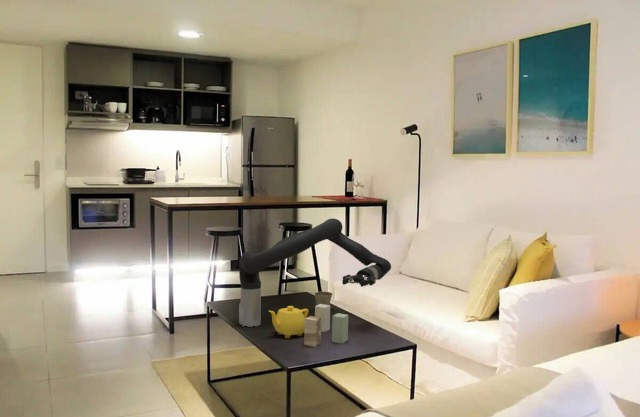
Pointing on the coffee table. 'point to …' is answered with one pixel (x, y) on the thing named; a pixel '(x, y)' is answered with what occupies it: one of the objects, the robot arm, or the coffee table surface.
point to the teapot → (289, 321)
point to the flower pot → (323, 298)
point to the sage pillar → (340, 328)
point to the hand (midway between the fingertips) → (352, 283)
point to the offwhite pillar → (323, 316)
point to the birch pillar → (312, 331)
